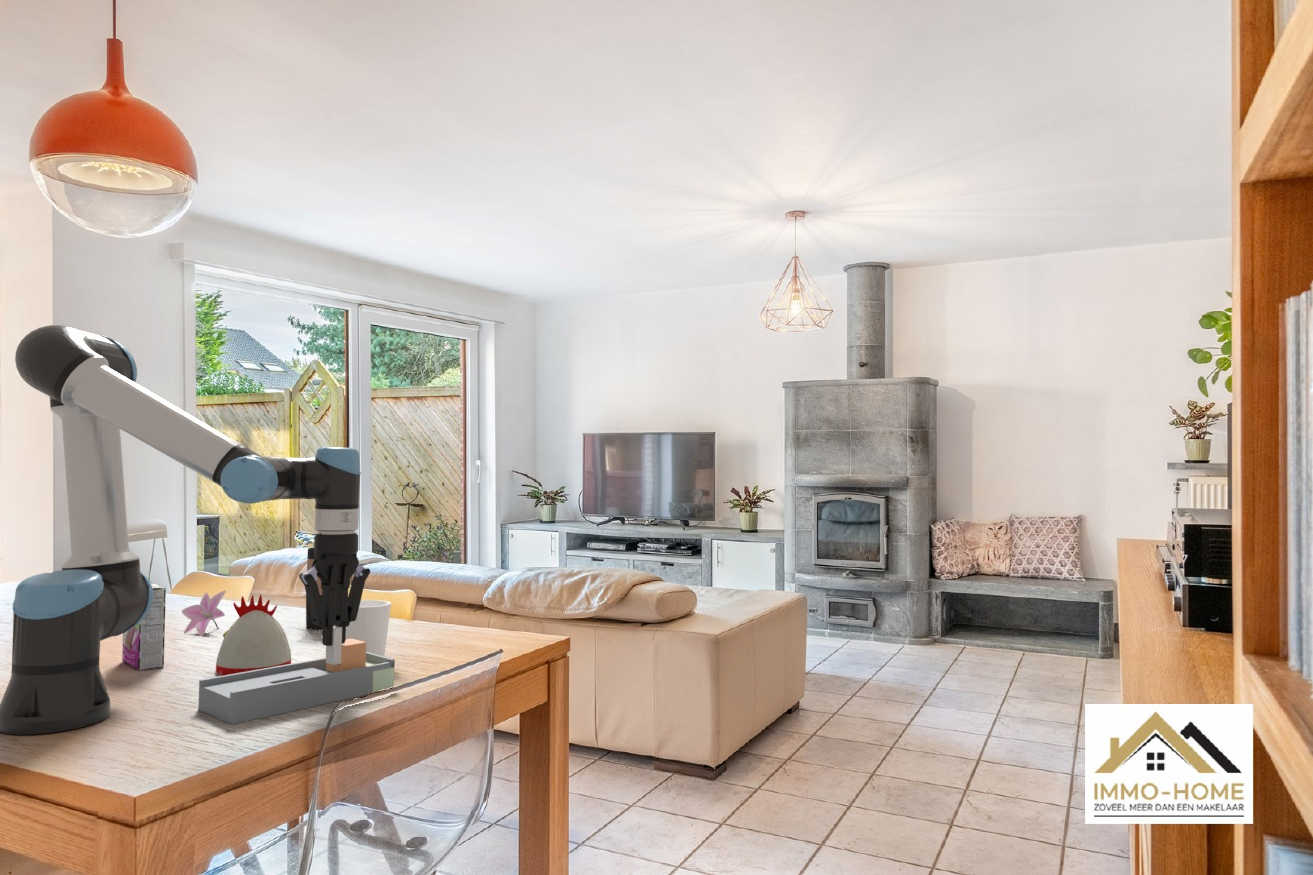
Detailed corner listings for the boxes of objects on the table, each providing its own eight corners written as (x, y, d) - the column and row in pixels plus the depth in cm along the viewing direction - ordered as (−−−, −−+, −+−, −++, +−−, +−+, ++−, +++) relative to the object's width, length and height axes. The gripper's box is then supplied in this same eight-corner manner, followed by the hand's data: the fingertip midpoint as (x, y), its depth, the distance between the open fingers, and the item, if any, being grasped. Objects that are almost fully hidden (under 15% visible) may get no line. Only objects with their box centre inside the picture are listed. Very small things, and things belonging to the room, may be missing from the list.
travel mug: (298, 628, 216) (301, 549, 217) (315, 623, 224) (317, 546, 224) (326, 630, 215) (329, 550, 216) (342, 624, 223) (345, 547, 223)
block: (340, 674, 155) (341, 646, 155) (326, 669, 158) (326, 642, 159) (365, 669, 159) (366, 642, 159) (350, 665, 162) (351, 638, 162)
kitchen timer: (219, 663, 179) (222, 591, 179) (291, 659, 184) (293, 588, 185) (212, 679, 166) (215, 601, 167) (290, 674, 171) (292, 598, 172)
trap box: (231, 724, 138) (232, 689, 138) (198, 709, 146) (199, 676, 146) (393, 688, 161) (394, 659, 161) (357, 677, 169) (358, 649, 169)
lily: (180, 633, 214) (168, 602, 210) (229, 610, 221) (217, 580, 217) (196, 655, 206) (183, 624, 202) (245, 631, 213) (234, 600, 208)
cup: (330, 664, 180) (332, 602, 180) (374, 656, 187) (375, 598, 187) (354, 672, 173) (356, 608, 173) (398, 664, 180) (399, 603, 181)
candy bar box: (119, 662, 178) (122, 582, 179) (146, 658, 182) (149, 580, 182) (137, 671, 171) (140, 588, 171) (164, 667, 174) (167, 586, 175)
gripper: (313, 535, 149) (309, 672, 148) (380, 531, 159) (377, 660, 158) (291, 532, 154) (288, 665, 153) (357, 529, 164) (354, 654, 163)
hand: (333, 662), depth 156 cm, fingers closed
